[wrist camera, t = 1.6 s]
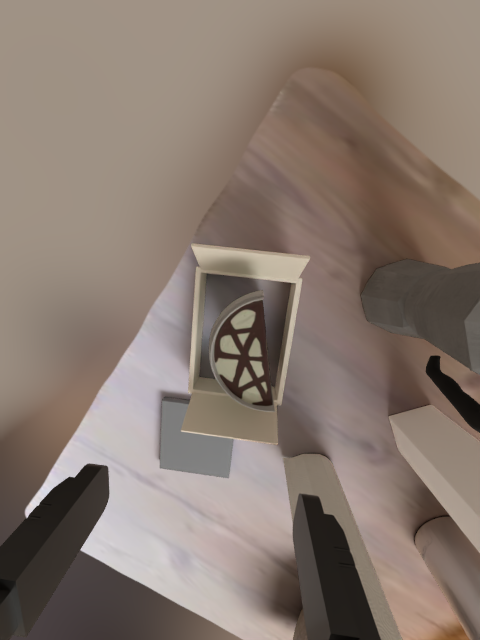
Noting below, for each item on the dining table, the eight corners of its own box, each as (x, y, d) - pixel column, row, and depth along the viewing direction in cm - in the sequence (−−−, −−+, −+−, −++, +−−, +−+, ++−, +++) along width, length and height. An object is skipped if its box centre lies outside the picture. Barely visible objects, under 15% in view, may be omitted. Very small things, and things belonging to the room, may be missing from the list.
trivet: (237, 406, 34) (236, 410, 33) (229, 472, 36) (228, 478, 35) (164, 396, 34) (162, 400, 33) (162, 462, 37) (159, 468, 36)
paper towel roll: (340, 475, 35) (464, 774, 14) (305, 490, 36) (374, 789, 15) (318, 440, 34) (417, 709, 13) (282, 456, 35) (323, 731, 14)
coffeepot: (368, 240, 28) (566, 190, 10) (449, 244, 27) (805, 199, 10) (347, 358, 31) (468, 476, 13) (419, 364, 31) (640, 493, 13)
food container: (214, 289, 30) (194, 299, 20) (260, 284, 30) (263, 292, 20) (226, 375, 33) (214, 420, 23) (269, 371, 32) (275, 416, 22)
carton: (299, 260, 29) (317, 256, 21) (276, 404, 33) (282, 446, 25) (204, 249, 29) (184, 242, 21) (194, 393, 34) (175, 431, 26)
